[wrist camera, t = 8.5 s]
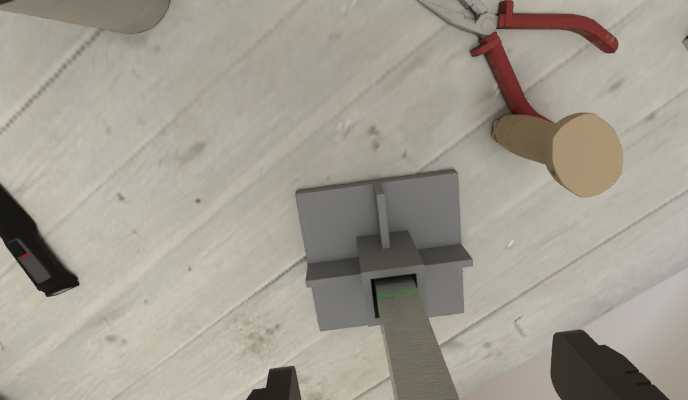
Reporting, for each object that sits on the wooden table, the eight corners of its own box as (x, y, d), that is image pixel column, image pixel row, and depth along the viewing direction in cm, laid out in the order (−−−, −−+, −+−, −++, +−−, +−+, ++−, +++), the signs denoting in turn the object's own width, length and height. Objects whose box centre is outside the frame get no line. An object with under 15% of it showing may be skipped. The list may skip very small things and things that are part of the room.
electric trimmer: (2, 169, 44) (-23, 175, 41) (84, 282, 48) (67, 296, 45) (-26, 182, 44) (-52, 190, 41) (58, 293, 49) (40, 308, 46)
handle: (497, 164, 45) (574, 208, 30) (471, 116, 43) (540, 138, 29) (536, 141, 44) (633, 174, 30) (511, 91, 42) (602, 101, 28)
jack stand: (320, 324, 51) (316, 400, 39) (296, 190, 45) (283, 232, 33) (460, 306, 50) (499, 377, 38) (454, 169, 45) (497, 204, 33)
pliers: (455, -70, 38) (463, -80, 35) (612, 41, 41) (630, 40, 39) (392, 41, 41) (396, 39, 38) (544, 136, 44) (556, 140, 42)
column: (376, 303, 41) (404, 455, 25) (372, 271, 40) (399, 409, 23) (411, 298, 41) (463, 448, 24) (409, 266, 39) (461, 401, 23)
